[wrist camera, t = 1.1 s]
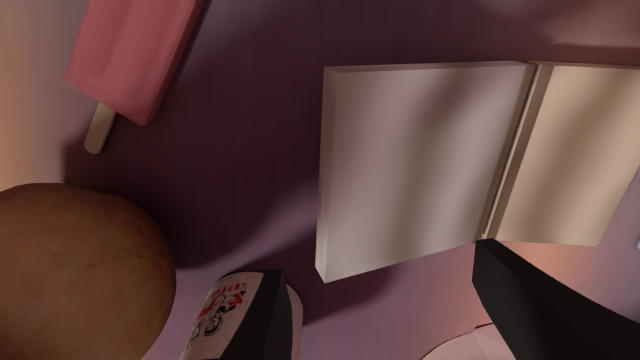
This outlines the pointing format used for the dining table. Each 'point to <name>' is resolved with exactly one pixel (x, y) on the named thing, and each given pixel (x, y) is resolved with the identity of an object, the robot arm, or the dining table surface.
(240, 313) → the teacup with lid
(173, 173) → the dining table surface
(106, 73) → the popsicle
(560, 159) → the laid board
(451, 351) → the mauve lumpy shape
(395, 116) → the beige flat square block
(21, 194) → the butternut squash
